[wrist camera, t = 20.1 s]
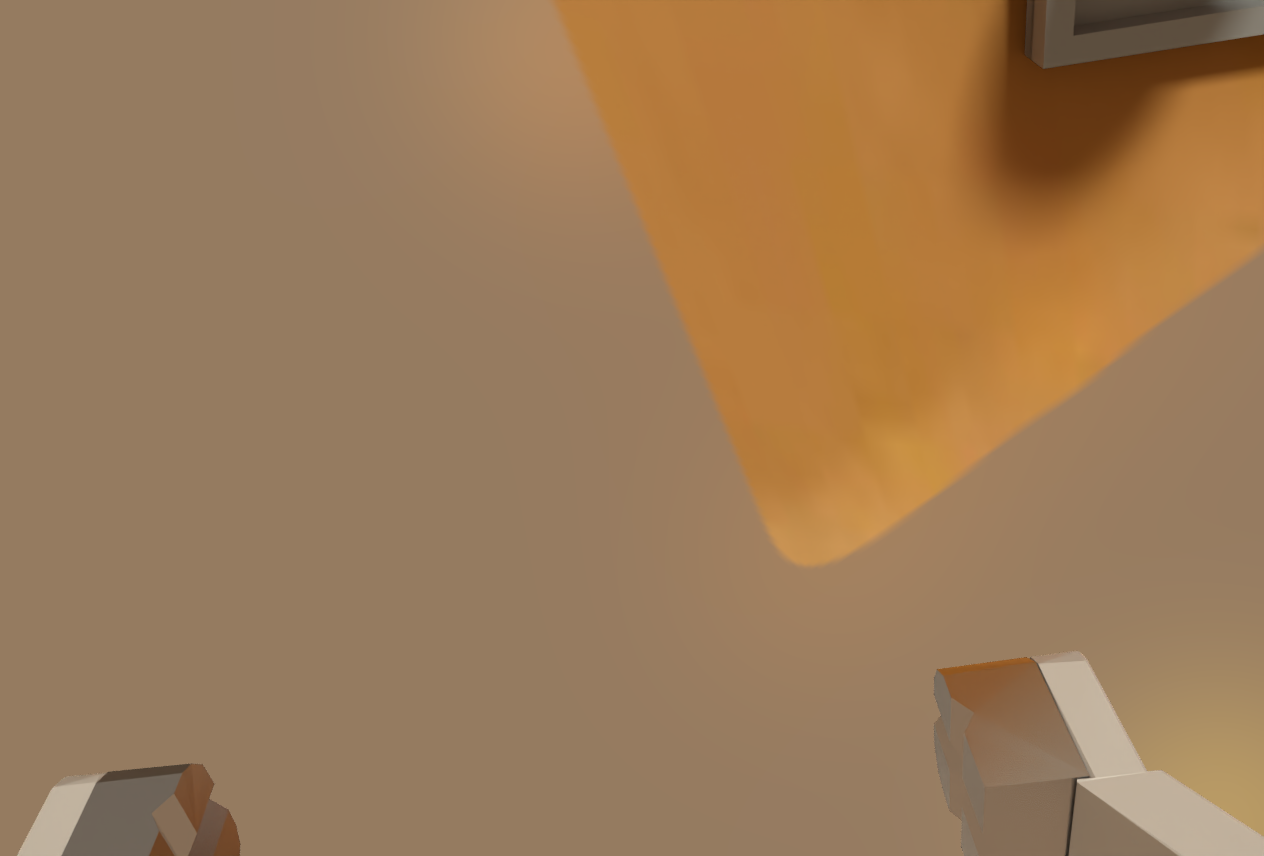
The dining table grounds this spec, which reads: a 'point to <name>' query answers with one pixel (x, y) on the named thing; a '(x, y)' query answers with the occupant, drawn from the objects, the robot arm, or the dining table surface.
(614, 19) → the dining table surface
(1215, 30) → the tray
